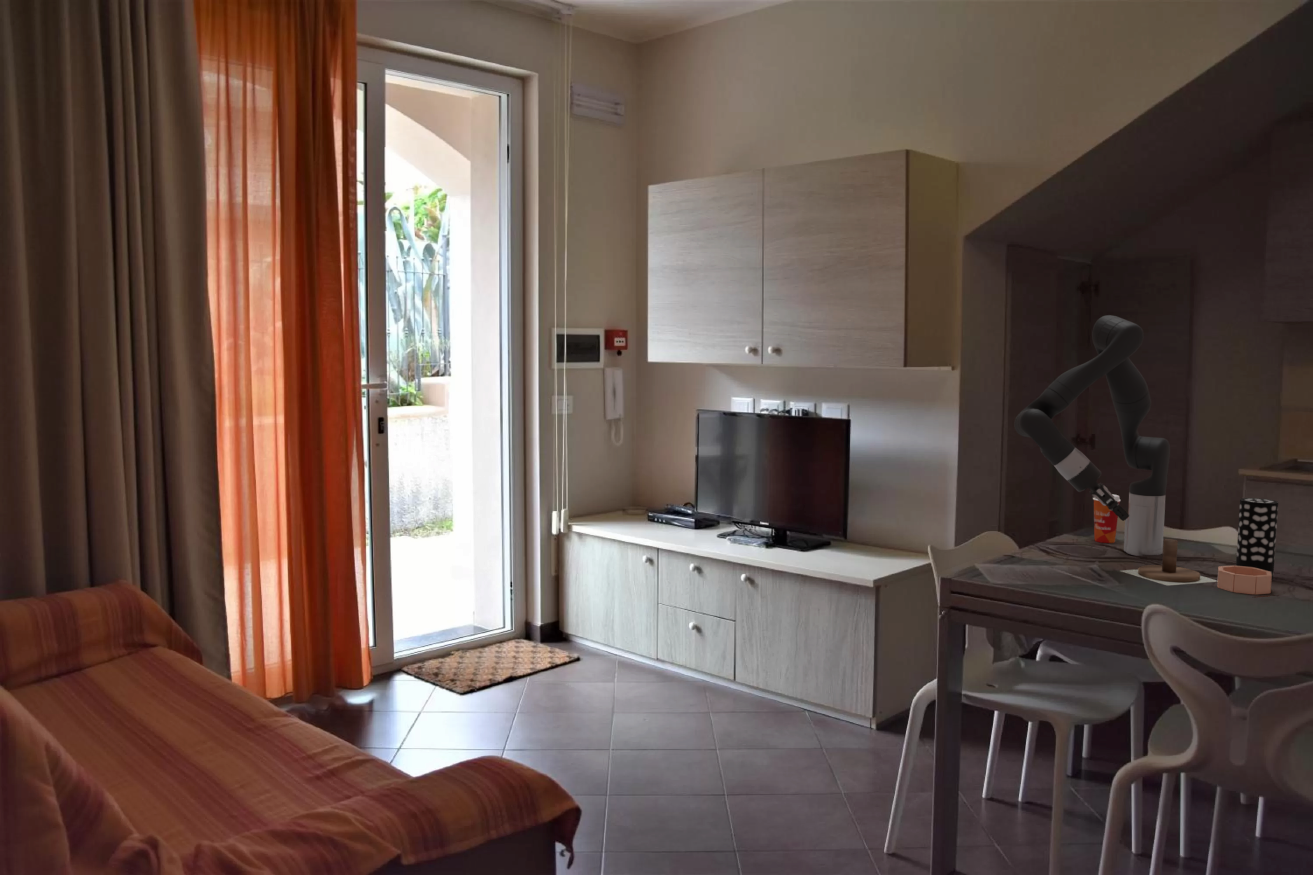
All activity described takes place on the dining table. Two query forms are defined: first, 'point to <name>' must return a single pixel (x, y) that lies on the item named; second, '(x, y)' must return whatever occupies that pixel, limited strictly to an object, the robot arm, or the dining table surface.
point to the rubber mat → (1202, 580)
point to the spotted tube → (1257, 533)
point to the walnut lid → (1169, 567)
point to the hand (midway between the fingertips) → (1123, 515)
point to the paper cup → (1105, 522)
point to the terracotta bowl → (1244, 580)
